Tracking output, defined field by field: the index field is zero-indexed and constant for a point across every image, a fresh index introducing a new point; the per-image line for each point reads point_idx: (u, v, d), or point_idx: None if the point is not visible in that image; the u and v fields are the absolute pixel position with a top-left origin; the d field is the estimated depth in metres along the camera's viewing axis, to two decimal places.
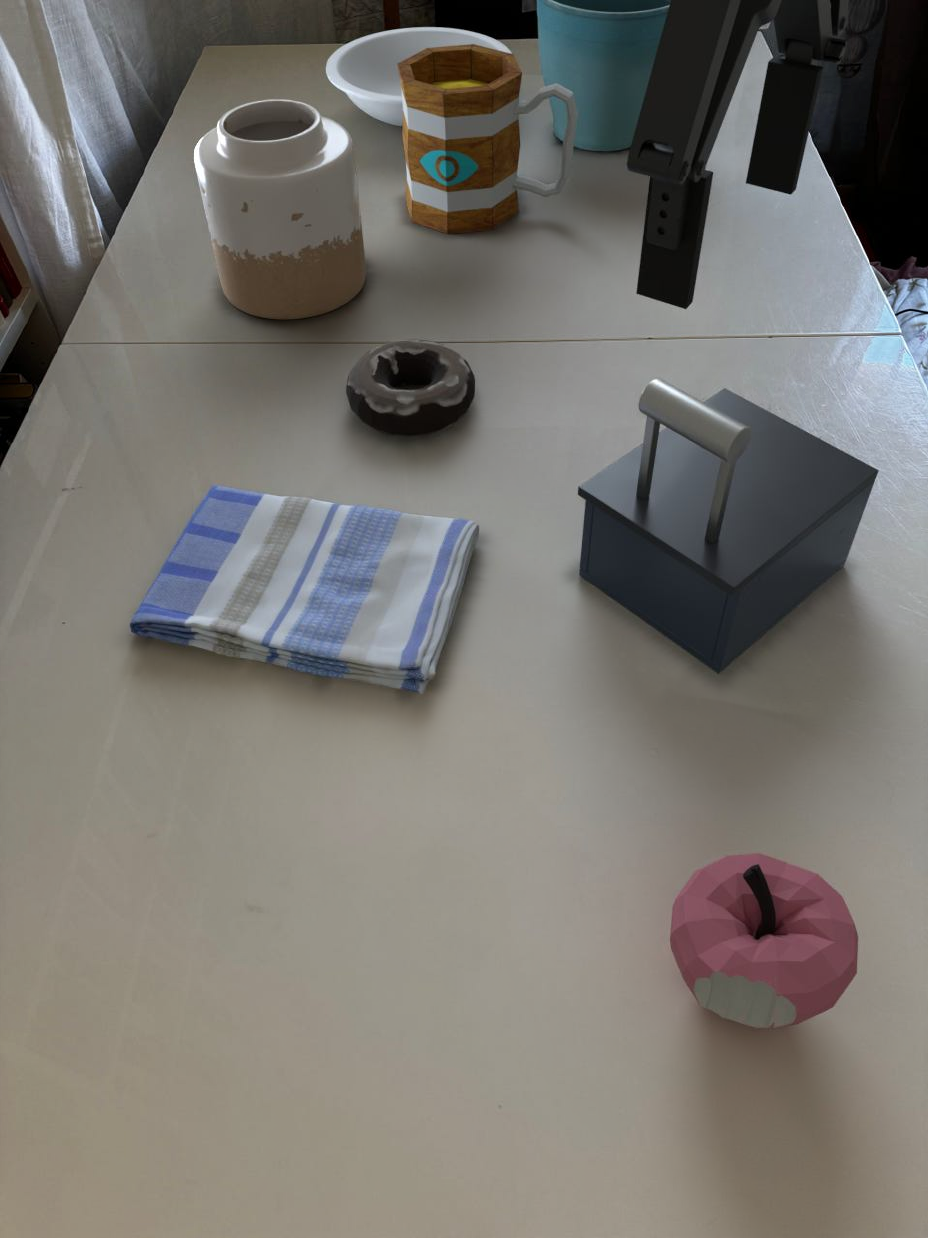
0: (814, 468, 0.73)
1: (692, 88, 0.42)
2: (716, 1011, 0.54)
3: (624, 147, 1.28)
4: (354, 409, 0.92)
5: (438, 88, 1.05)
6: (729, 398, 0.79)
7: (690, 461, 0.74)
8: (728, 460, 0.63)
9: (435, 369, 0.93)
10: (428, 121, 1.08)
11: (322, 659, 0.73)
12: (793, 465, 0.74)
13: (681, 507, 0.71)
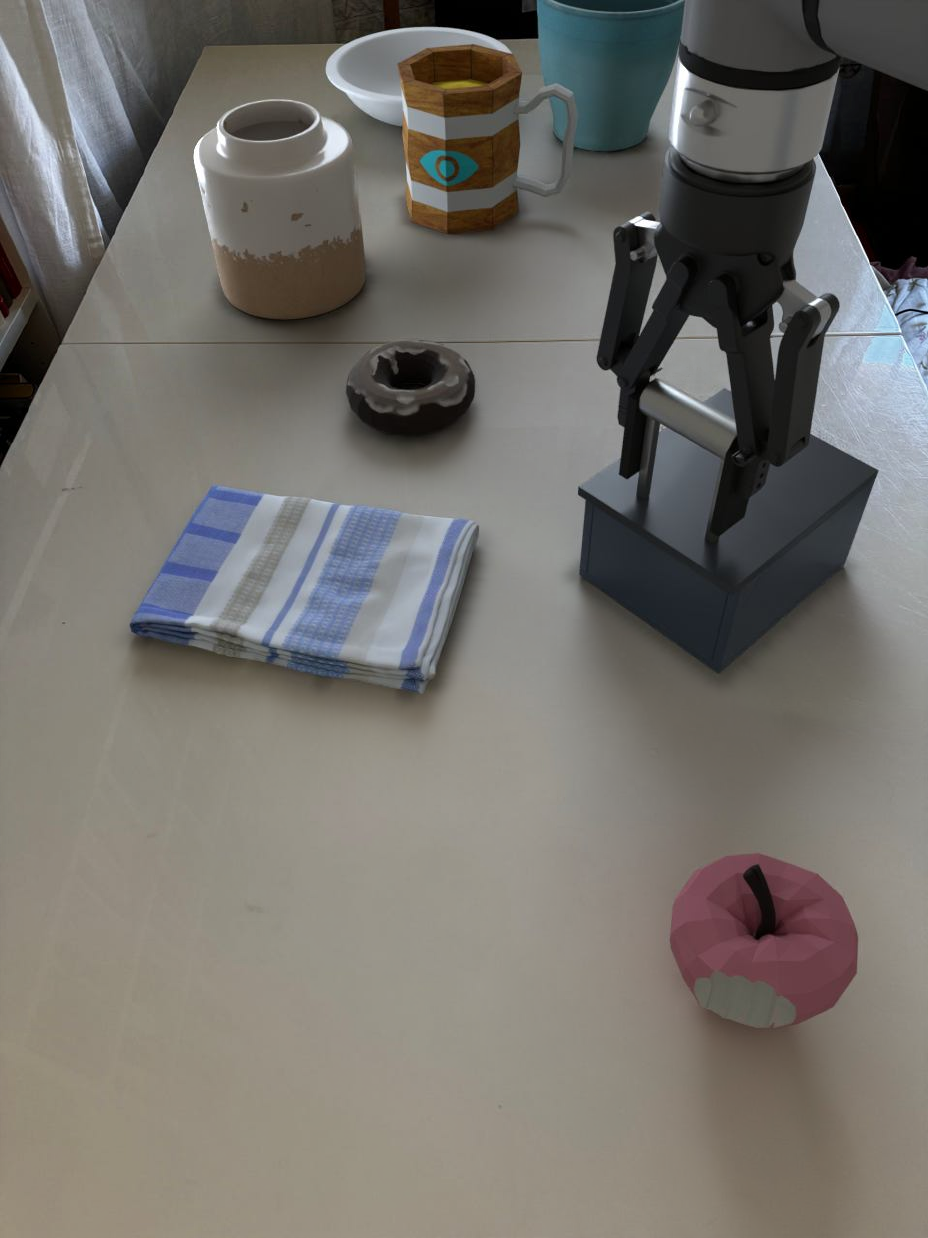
0: (814, 468, 0.73)
1: (810, 402, 0.58)
2: (716, 1011, 0.54)
3: (624, 147, 1.28)
4: (354, 409, 0.92)
5: (438, 88, 1.05)
6: (729, 398, 0.79)
7: (690, 461, 0.74)
8: None
9: (435, 369, 0.93)
10: (428, 121, 1.08)
11: (322, 659, 0.73)
12: (793, 465, 0.74)
13: (681, 507, 0.71)
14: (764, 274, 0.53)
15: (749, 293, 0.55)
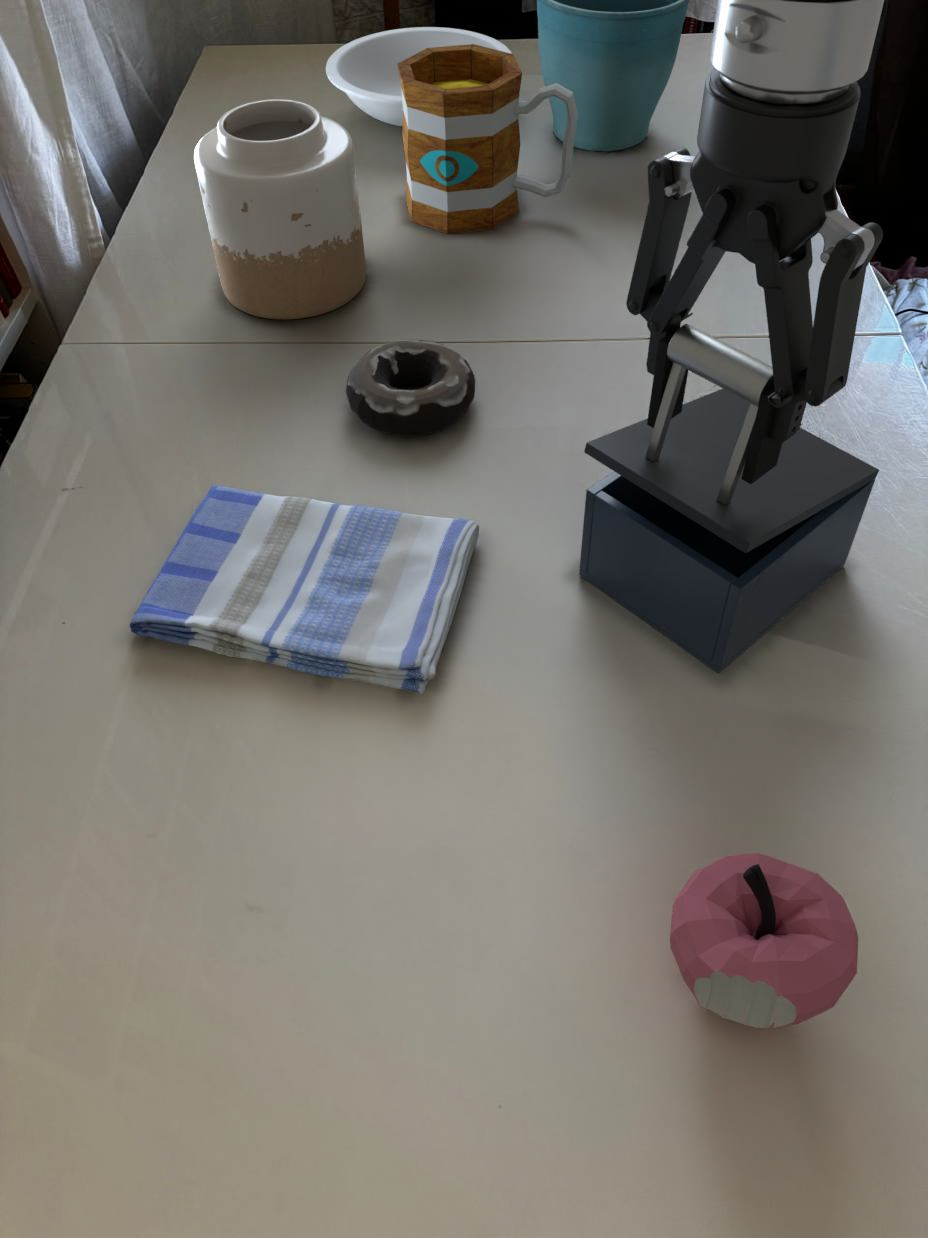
0: (818, 460, 0.73)
1: (850, 338, 0.57)
2: (716, 1011, 0.54)
3: (624, 147, 1.28)
4: (354, 409, 0.92)
5: (438, 88, 1.05)
6: (730, 395, 0.79)
7: (697, 438, 0.73)
8: None
9: (435, 369, 0.93)
10: (428, 121, 1.08)
11: (322, 658, 0.73)
12: (797, 454, 0.73)
13: (691, 472, 0.69)
14: (806, 202, 0.52)
15: (789, 223, 0.54)
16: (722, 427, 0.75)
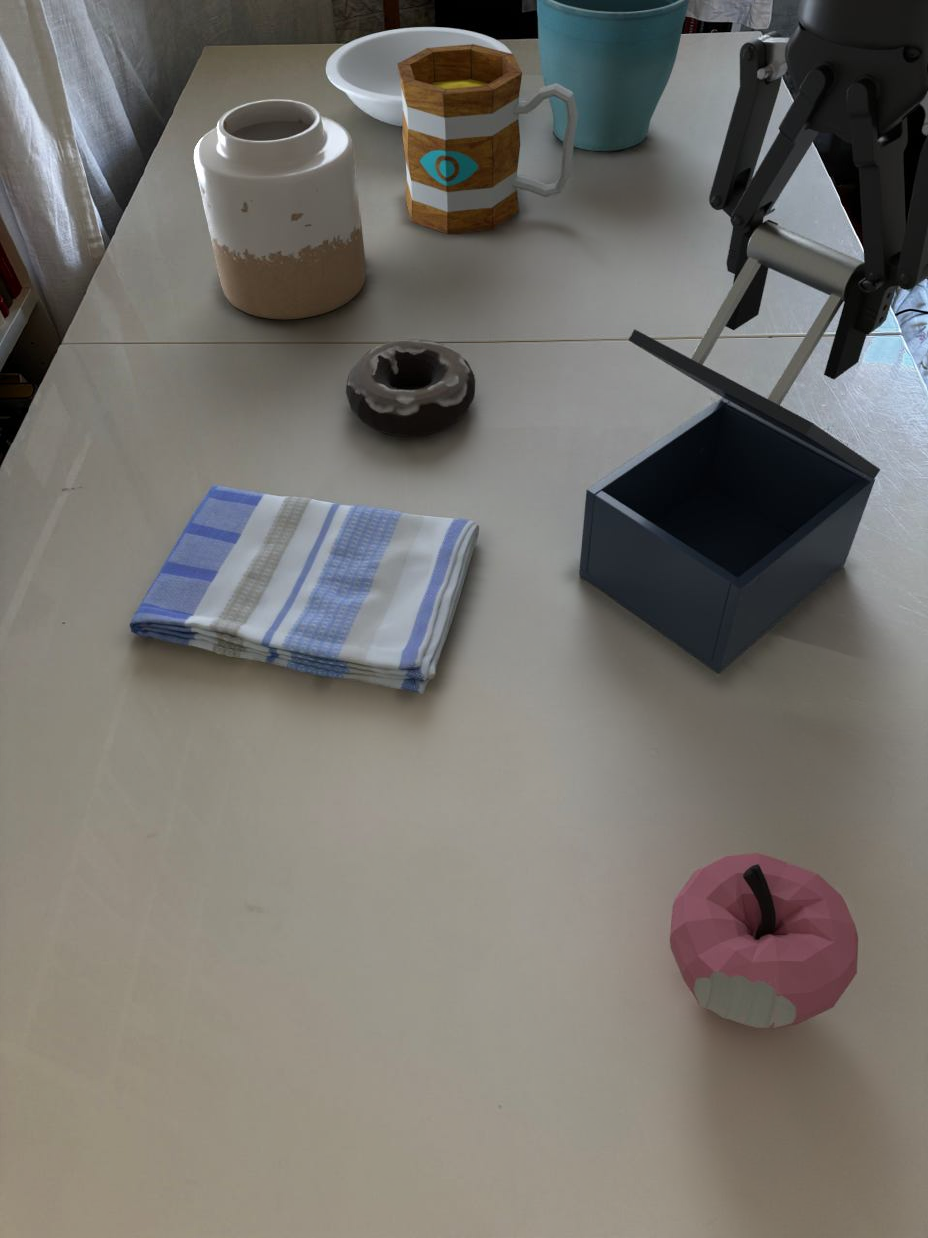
0: None
1: None
2: (716, 1011, 0.54)
3: (624, 147, 1.28)
4: (354, 409, 0.92)
5: (438, 88, 1.05)
6: None
7: None
8: (845, 288, 0.61)
9: (435, 369, 0.93)
10: (428, 121, 1.08)
11: (322, 659, 0.73)
12: None
13: None
14: (909, 72, 0.52)
15: (890, 96, 0.54)
16: None
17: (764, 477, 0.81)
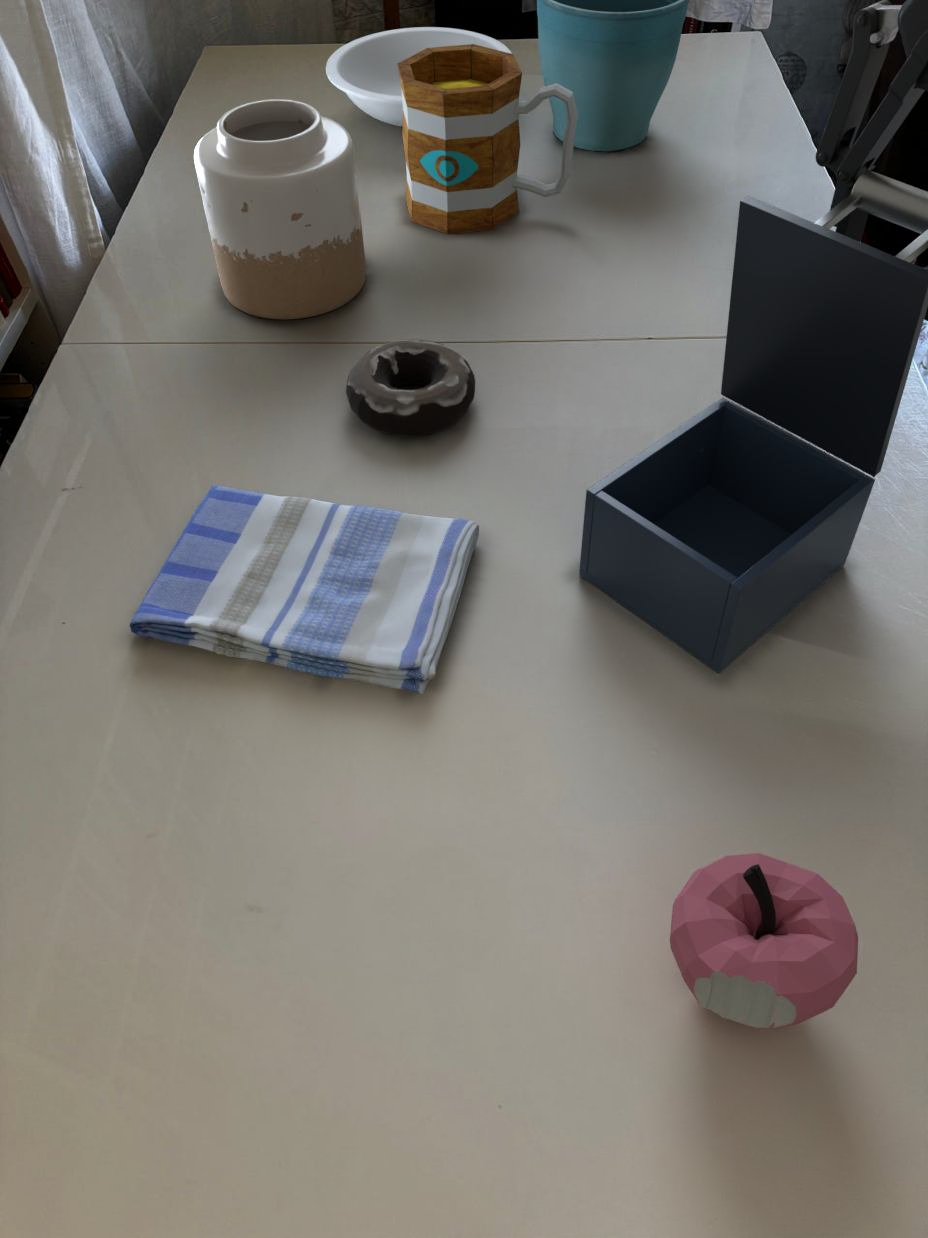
0: None
1: None
2: (716, 1011, 0.54)
3: (624, 147, 1.28)
4: (354, 409, 0.92)
5: (438, 88, 1.05)
6: None
7: None
8: None
9: (435, 369, 0.93)
10: (428, 121, 1.08)
11: (322, 659, 0.73)
12: None
13: None
14: None
15: None
16: None
17: (764, 477, 0.81)
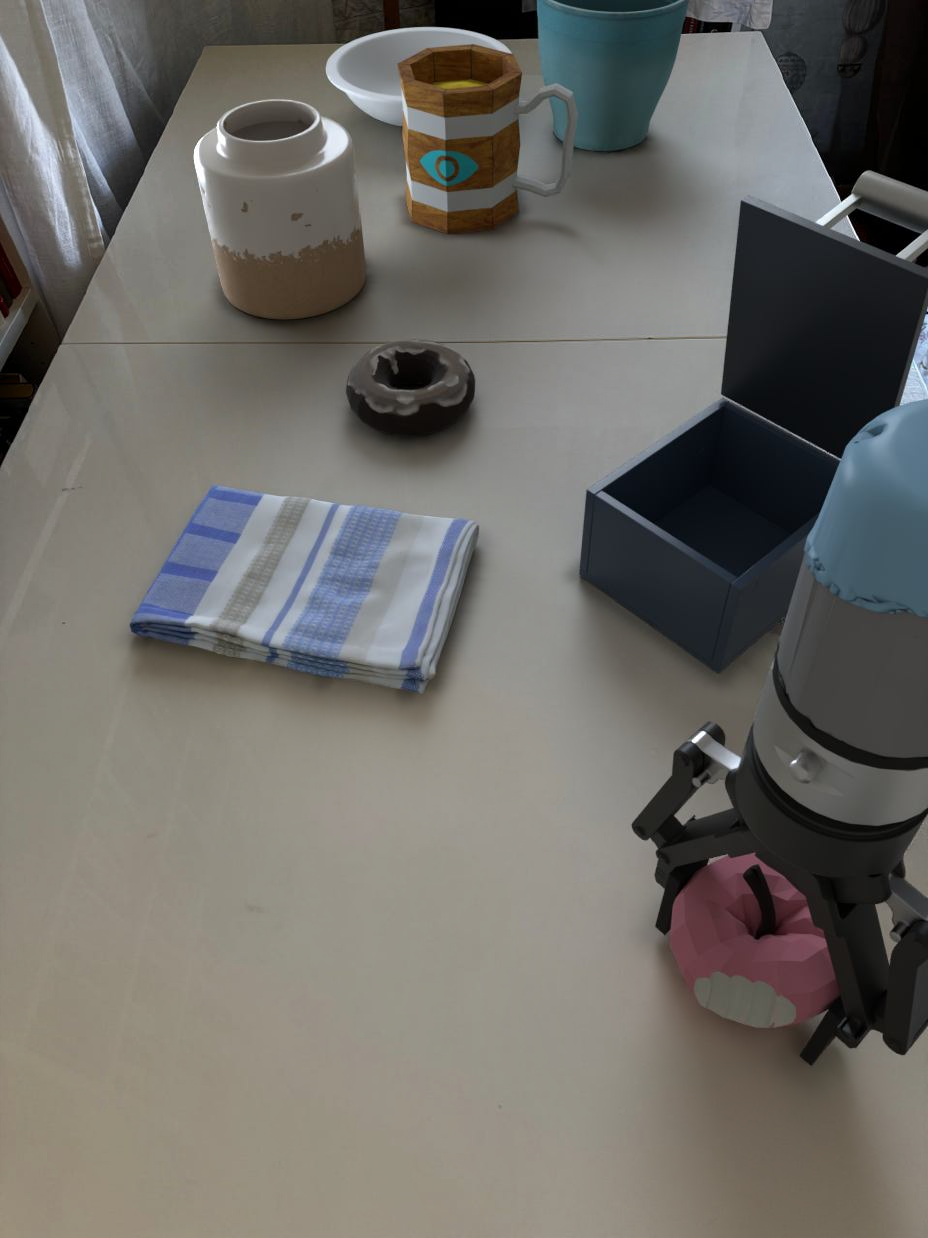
0: None
1: None
2: (716, 1011, 0.54)
3: (624, 147, 1.28)
4: (354, 409, 0.92)
5: (438, 88, 1.05)
6: None
7: None
8: None
9: (435, 369, 0.93)
10: (428, 121, 1.08)
11: (322, 659, 0.73)
12: None
13: None
14: (866, 881, 0.43)
15: (847, 888, 0.45)
16: None
17: (764, 477, 0.81)
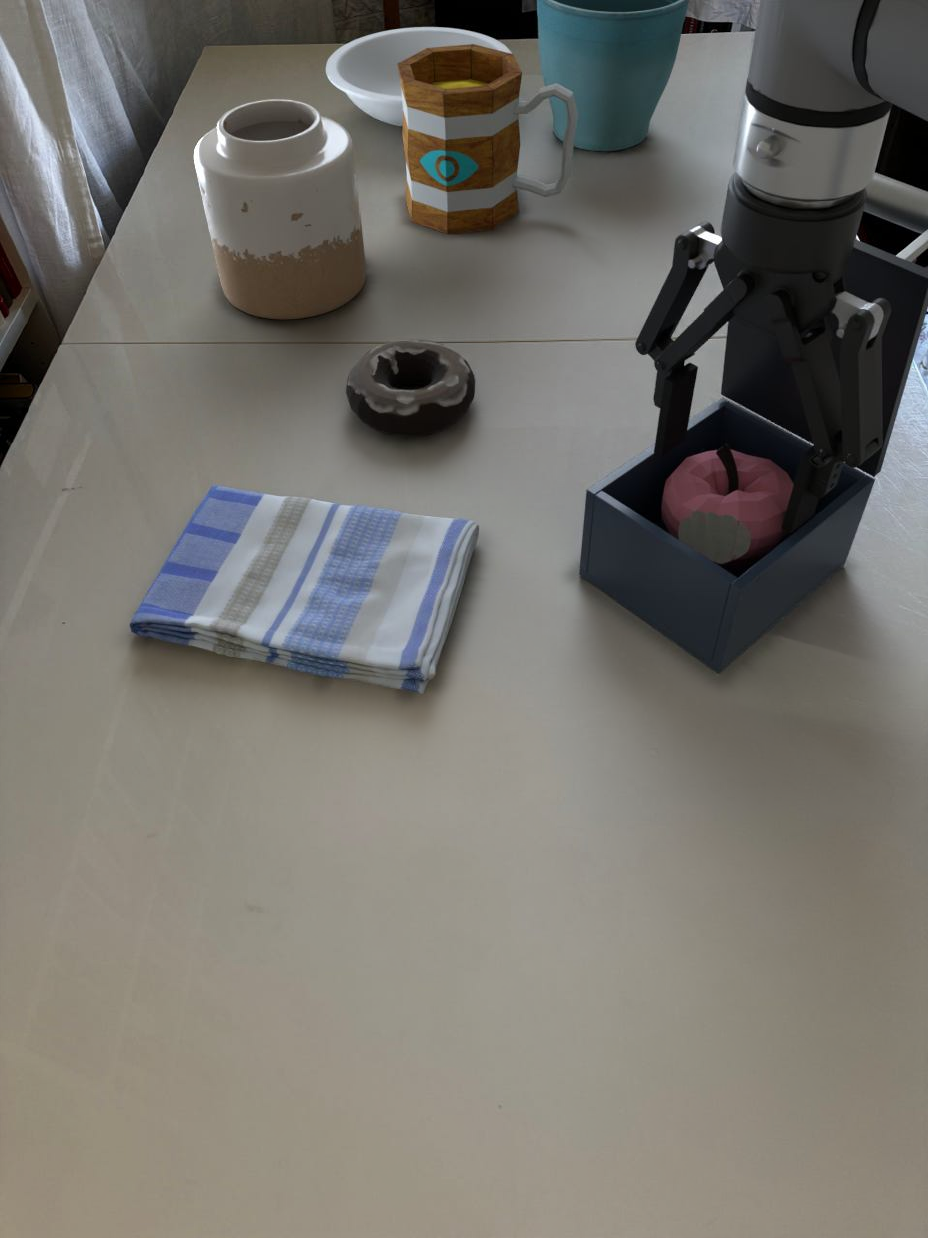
0: None
1: (878, 402, 0.62)
2: None
3: (624, 147, 1.28)
4: (354, 409, 0.92)
5: (438, 88, 1.05)
6: None
7: None
8: None
9: (435, 369, 0.93)
10: (428, 121, 1.08)
11: (322, 659, 0.73)
12: None
13: None
14: (816, 288, 0.59)
15: (803, 307, 0.60)
16: None
17: None
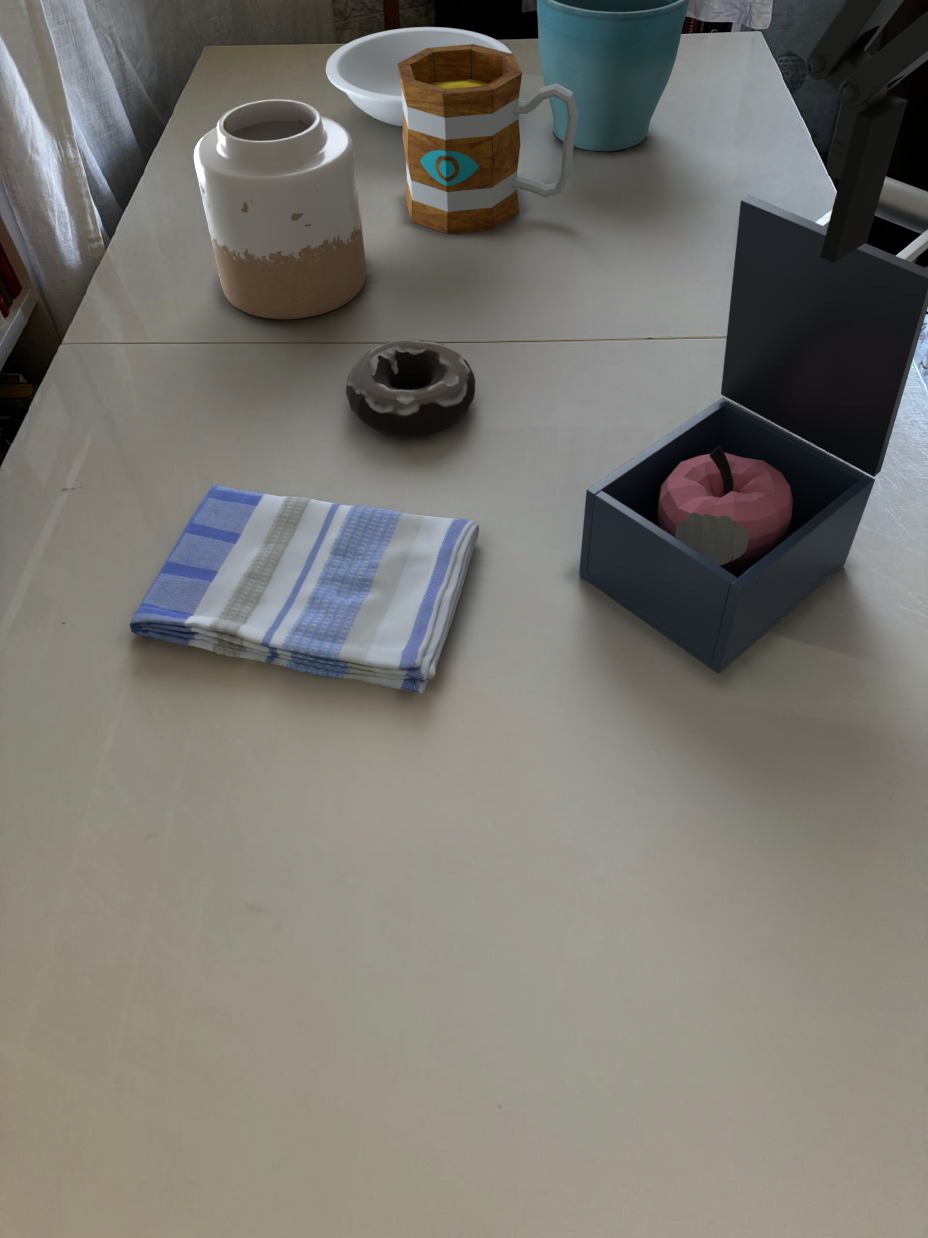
0: None
1: None
2: None
3: (624, 147, 1.28)
4: (354, 409, 0.92)
5: (438, 88, 1.05)
6: None
7: None
8: None
9: (435, 369, 0.93)
10: (428, 121, 1.08)
11: (322, 659, 0.73)
12: None
13: None
14: None
15: None
16: None
17: None
